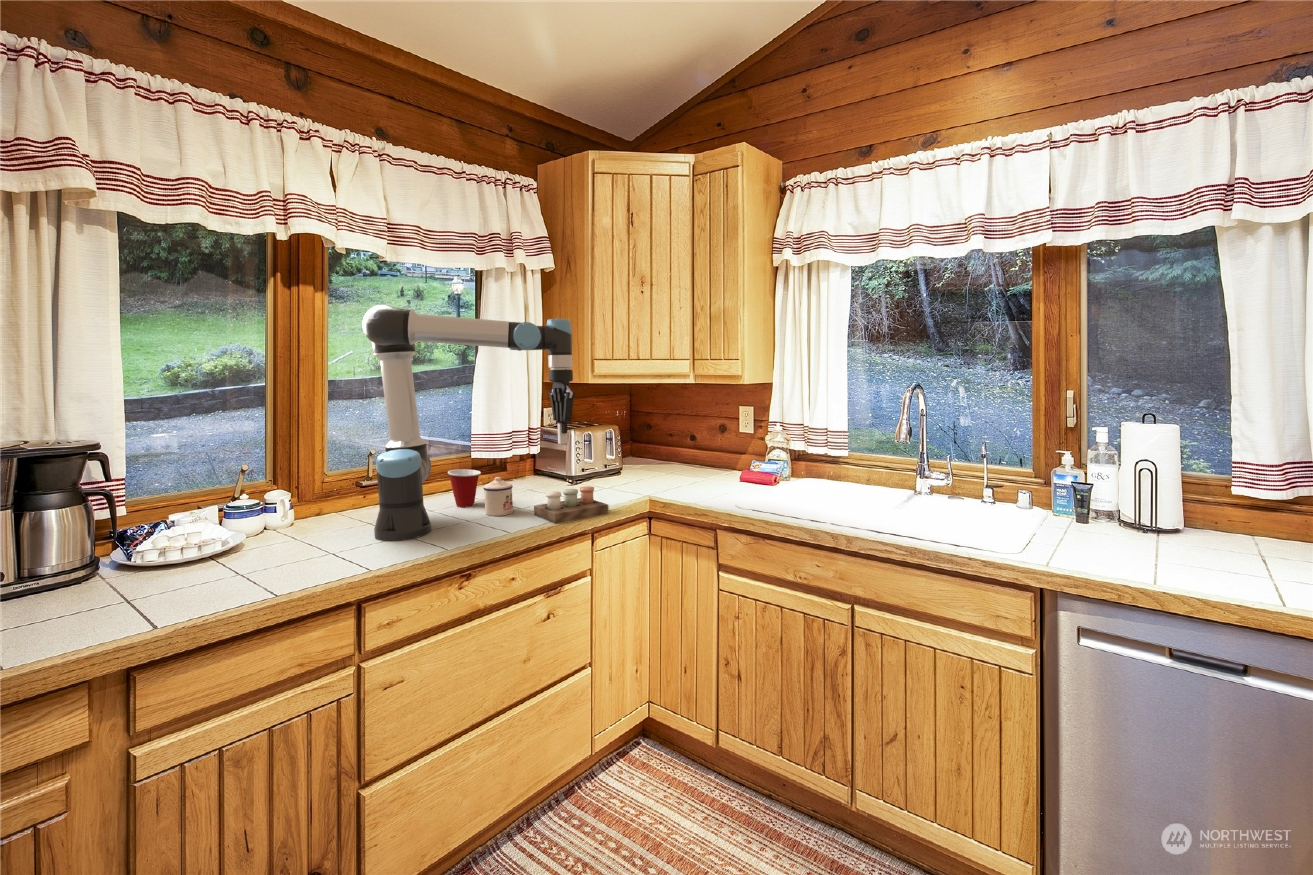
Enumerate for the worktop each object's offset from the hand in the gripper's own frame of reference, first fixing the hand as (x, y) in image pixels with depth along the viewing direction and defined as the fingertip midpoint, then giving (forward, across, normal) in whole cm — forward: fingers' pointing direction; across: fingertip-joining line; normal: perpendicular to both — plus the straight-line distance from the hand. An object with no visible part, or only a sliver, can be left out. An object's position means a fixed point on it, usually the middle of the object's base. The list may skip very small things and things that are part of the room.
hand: (563, 443), depth 196 cm
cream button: (+20, -4, +6) cm, 21 cm away
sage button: (+20, -4, 0) cm, 20 cm away
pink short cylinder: (+20, -4, -6) cm, 21 cm away
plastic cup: (+23, +30, +22) cm, 43 cm away
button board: (+22, -4, 0) cm, 23 cm away
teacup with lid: (+23, +14, +16) cm, 31 cm away
